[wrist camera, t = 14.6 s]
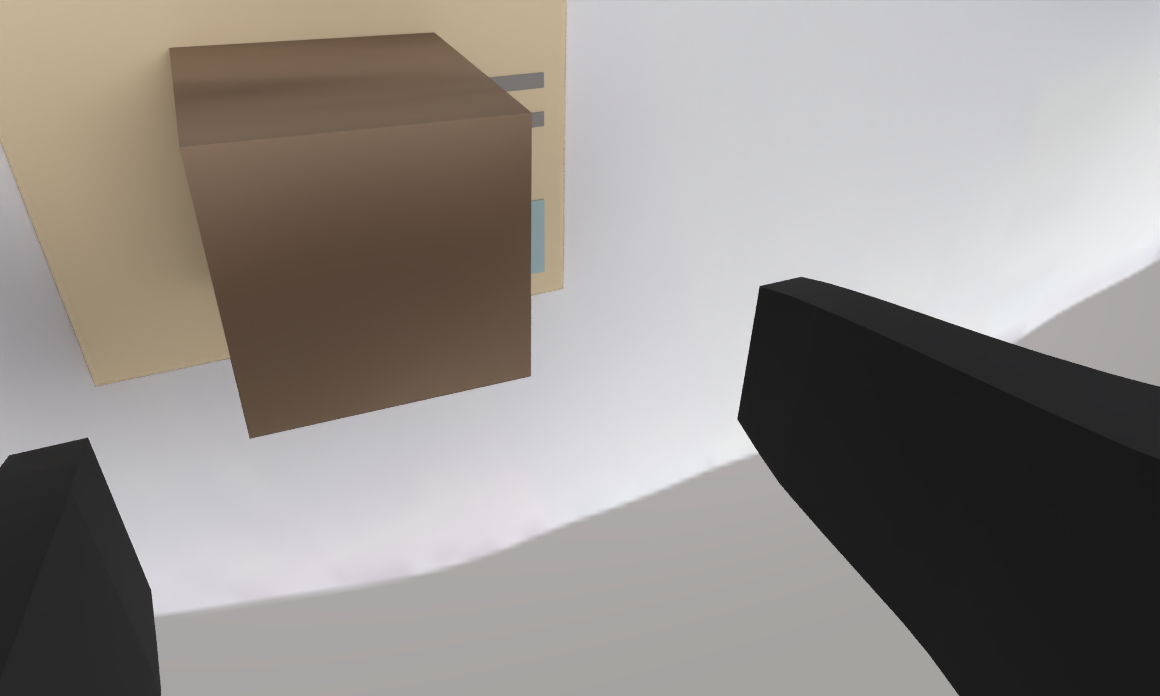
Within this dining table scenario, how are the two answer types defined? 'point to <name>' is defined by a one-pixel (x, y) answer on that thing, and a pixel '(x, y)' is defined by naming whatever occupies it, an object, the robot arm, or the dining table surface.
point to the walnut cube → (358, 220)
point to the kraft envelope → (153, 159)
